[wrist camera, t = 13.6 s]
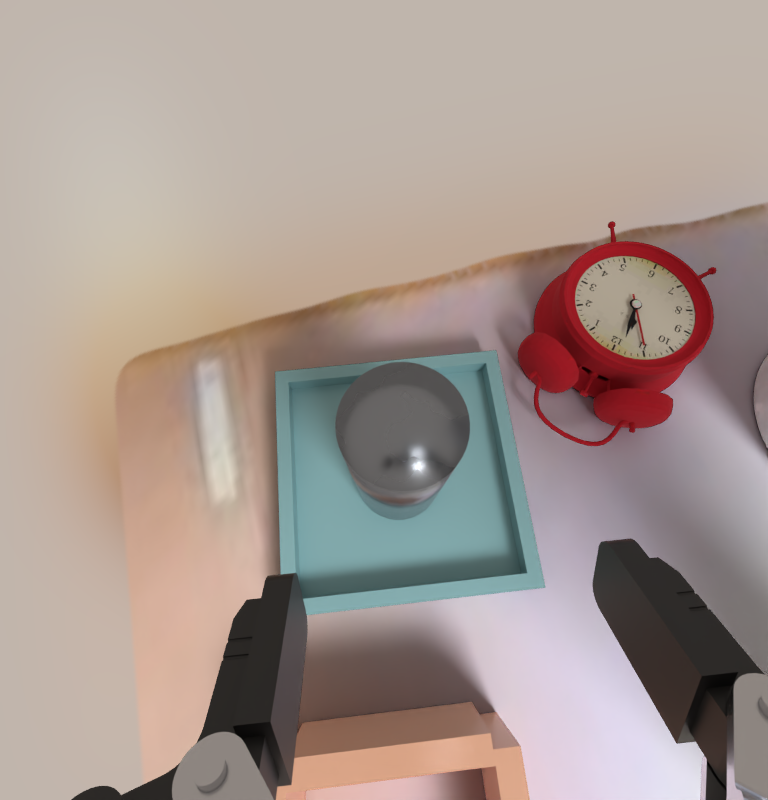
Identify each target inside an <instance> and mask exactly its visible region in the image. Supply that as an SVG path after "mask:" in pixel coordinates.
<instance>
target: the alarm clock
mask: <svg viewBox="0 0 768 800" xmlns="http://www.w3.org/2000/svg"><path fill="white" fill-rule="evenodd" d="M608 227H609V228H610V229H611V243H608V244H604V245H601V246H598V247H596V248H594V249H592V250H590V251H588V252H587V253H585V254H584V255H582V256H581V257H579V258H578V259H577V260H576V261H575V262H574V263H573V264H572V265H571V266H570V267H569V269H568V270H567V271H566V272H564V273H563V274H561V275H560V276H558V277H557V278H556V279H554V280H553V281H552V282H551V283H550V284H549V286H548V287H547V288H546V289H545V291H544V292H543V294H542V296H541V297H540V299H539V301H538V304H537V307H536V310H535V316H534V333H533V334H531V335H529V336H528V337H526V338H525V340H524V341H523V342H522V343H521V345H520V347H519V350H518V359H519V363H520V366H521V368H522V369H523V371H524V373H525V374H526V375H527V377H528V378H529V379H530V380H531V381H532V382H533V383H534V384H536V388H535V393H534V406H535V409H536V411H537V414H538V416H539V417H540V418H541V419H542V421H543V422H544V423H545V424H546V425H548V426H549V427H550V428H551V429H552V430H554V431H556V432H557V433H559V434H560V435H562V436H564V437H565V438H568V439H570V440H572V441H575V442H577V443H580V444H584V445H588V446H600V445H604V444H605V443H607V442H609V441H610V440H611V439H612V438H613V437H614V436H615V435H616V434H617V432H618V431H619V429H620V428H621V427H624V428H629V432H631V433H634V432H635V428H646V427H651V426H655V425H657V424H660V423H662V422H664V421H665V420H666V419H667V418H668V417H669V416H670V414H671V412H672V408H673V399H672V398H670V397H669V396H668V395H666V394H663V393H660V392H661V391H663V390H664V389H666V388H667V387H669V386H670V385H671V384H672V383H673V382H675V381H676V379H677V378H678V377H679V376H680V374H681V373H682V372H683V370H684V368H685V366H686V365H687V364H688V363H690V362H691V361H692V360H693V359H695V358H696V357H697V356H698V354H699V353H700V352H701V351H702V349H703V348H704V346H705V344H706V342H707V341H708V339H709V337H710V334H711V331H712V327H713V319H714V315H713V306H712V302H711V299H710V296H709V293H708V291H707V289H706V287H705V285H704V284H703V282H702V281H701V279H702V278H703V277H705V276H707V275H709V274H714V273H716V268H714V267H711V268H710V269H709V270H708V272H705V273H703V274H701V275H699V276H697V274H696V273H695V272H694V271H693V270H692V269H691V268H690V267H689V266H688V265H687V264H686V263H684V262H683V261H682V260H681V259H679V258H678V257H676V256H674V255H673V254H671V253H669V252H667V251H665V250H663V249H661V248H658V247H655V246H652V245H649V244H644V243H639V242H628V241H625V242H616V237H615V233H614V227H615V222H610V223H609V224H608ZM571 387H573V388H575V389H576V390H578V391H580V394H581V395H582V396H584V397H587V396H588V395H589V396H591V397H594V403H593V406H594V413H595V414H596V416H597V417H598V418H599V419H600V420H601V421H603V422H606V423H608V424H610V425H614V426H616V427H615V429H614V430H613V431H612V433H611V434H610V435H609V436H608V437H607V438H605V439H604V440H602V441H598V442H590V441H584V440H581V439H578V438H576V437H573V436H571V435H569V434H567V433H565V432H563V431H562V430H560V429H559V428H557V427H556V426H554V425H553V424H552V423H551V422H550V421H548V420H547V419H546V418H545V416H544V415H543V413H542V412H541V410H540V407H539V403H538V396H539V390H540V388H541V389H543V390H545V391H548V392H552V393H561V392H564V391H566V390H568V389H569V388H571Z"/></svg>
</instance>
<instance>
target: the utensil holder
mask: <svg viewBox="0 0 768 800" xmlns="http://www.w3.org/2000/svg"><path fill="white" fill-rule="evenodd" d="M754 409H755V416H756V420H757V424H758V427H759V430H760V433H761V436H762V438H763V440H764V442H765V445H766V446H767V448H768V355H767V357H766V358H765V359H764V361H763V363H762V365H761V367H760V369H759V371H758V374H757V377H756V381H755V387H754Z"/></svg>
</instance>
